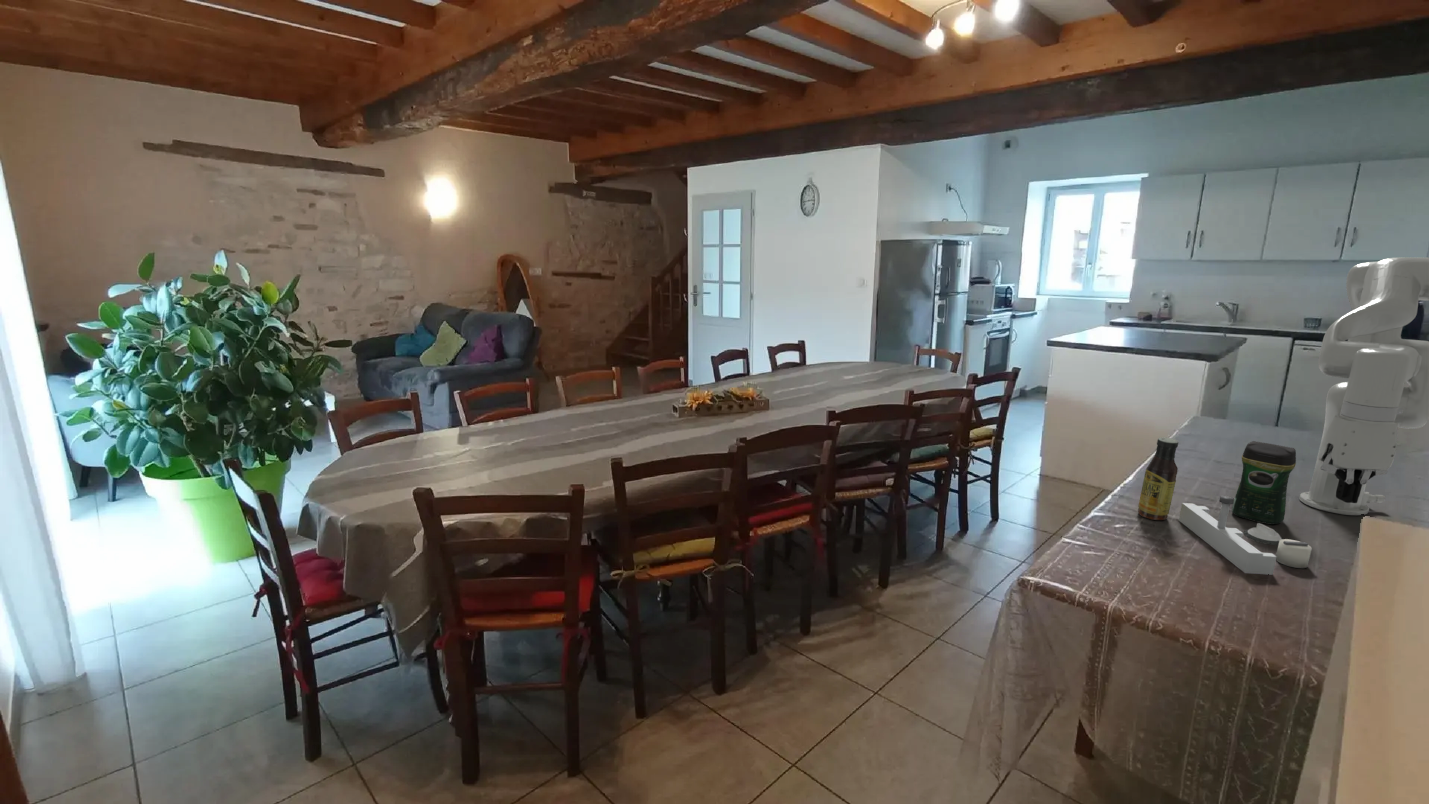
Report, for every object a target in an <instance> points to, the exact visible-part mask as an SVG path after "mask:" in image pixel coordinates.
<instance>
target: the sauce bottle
mask: <svg viewBox="0 0 1429 804" xmlns="http://www.w3.org/2000/svg"><path fill="white" fill-rule="evenodd" d="M1178 446H1179V441H1178V440H1177V439H1175V438H1171V437H1158V438H1157V441H1156V449H1155V453H1154V455H1153V457H1152V459H1151V461H1150V462H1149V464H1148V466H1147V467H1146V469H1145V471H1144V472H1145V473H1144V478H1143V482H1142V485H1141V491H1140V497H1139V502H1138V509H1137V512H1138V515H1140V516H1141V517H1143V518H1146V519H1148V520H1150V521H1165V520H1166V519H1168V517H1169V514H1170V509H1171V505H1172V501H1173V500H1172V499H1173V496H1174V495H1173V494H1174V490H1175V487H1176V482H1177V475H1178V471H1179V470H1178V466H1177V464H1176V462H1175V458H1176V455H1175V454H1176V450H1177V448H1178Z"/></svg>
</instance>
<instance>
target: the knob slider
mask: <svg viewBox="0 0 1429 804" xmlns="http://www.w3.org/2000/svg"><path fill="white" fill-rule="evenodd" d="M1312 550H1313V549H1312V546H1311V545H1309V543H1308V542H1305V541H1299V540H1294V539H1290V538H1289V539H1288V538H1285V539H1284V538H1283V539H1282V540H1280V541H1279V545H1277V550H1276V554H1275V556H1276V557H1277V558H1276V561H1277V563H1280V564H1282V565H1285V566H1287V567H1291V568H1296V569H1305V568H1308V566H1309V562H1310V558H1311V555H1312V554H1311V553H1312Z"/></svg>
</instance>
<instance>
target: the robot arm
mask: <svg viewBox="0 0 1429 804" xmlns="http://www.w3.org/2000/svg"><path fill="white" fill-rule="evenodd" d="M1345 285H1346V287H1345V288H1346V294H1347V299H1348V302H1349V305H1350V307H1351V311H1349V312H1347V313H1345V314H1343V315H1342V316H1340V317H1339V318H1338V319H1336V320H1335V321H1334V322H1333V323H1332V324H1330V325H1329V327H1328V328H1327V329H1326V331H1325V334H1324V336H1323V339H1322V342H1321V347H1320V351H1319V356H1318V368H1319V370H1320V372H1321V373H1322V374H1323V375H1325V376H1327V377H1332V378H1342V379H1348V380H1347V381H1344V382H1343V381H1342V382H1339V383H1336V384H1334V385H1332V386H1331V387H1329V389H1328V391H1327V393H1326V399H1325V415H1324V416H1325V417H1324V426H1323V430H1322V431H1323V432H1322V435H1321V436H1322V437H1321V440H1320V444H1319V448H1318V453H1317V457H1316V462H1315V466H1314V468H1313V469H1314V470H1313V474H1312V479H1311V481H1310V482H1311V483H1310V487H1309V491H1305V492H1304V491H1303V492H1301V493H1300V494H1299V500H1300V501H1301V503H1303V504H1305V505H1307V506H1308V507H1312V508H1314V509H1317V510H1320V511H1324V512H1329V513H1333V514H1339V515H1345V516H1362V515H1361V514H1364V515H1367V514H1368V513H1369V511H1370V507H1369V505H1367V504H1370V503H1378V504H1379V503H1380V504H1382V503H1385V502H1386V496H1385V495H1383V494H1371V492H1369V491H1365V490H1366V486H1367V483H1368V481H1369V480H1370V479H1372V478H1374V477H1375V476H1377V477H1378V476H1383V475H1387V474H1388V470H1389V469H1390V468H1391V467H1392V465H1393V462H1394V460H1395V456H1396V452H1397V445H1398V434H1399V428H1402V429H1409V430H1410V429H1413V430H1414V429H1415V430H1416V429H1420V428H1423V427H1424V426H1426V424H1427V423H1428V421H1429V341H1428V340H1422V339H1421V340H1418V339H1405V338H1402V336H1401V335H1402V331H1403V328H1404V327H1405V326H1407V325H1409V324H1410V323H1411V322H1412V321H1413V320H1414V319H1416V316H1417V314H1418V307H1419V301H1425V302H1429V257H1427V256H1426V257H1423V256H1420V257H1414V256H1412V257H1410V256H1409V257H1408V256H1407V257H1406V256H1405V257H1404V256H1403V257H1397V256H1396V257H1390V258H1384V259H1381V260H1379V261H1378V260H1377V261H1367V262H1362V263H1358V264H1356V265H1354V266H1352V267H1351V268H1350V269H1349V271H1348V272H1347V276H1346V283H1345ZM1405 383H1407V384H1408V386H1405Z"/></svg>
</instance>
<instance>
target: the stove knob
mask: <svg viewBox="0 0 1429 804" xmlns="http://www.w3.org/2000/svg"><path fill="white" fill-rule="evenodd" d="M1242 533H1244V534H1243V536H1245V537H1247V538H1248V539H1250V540H1252V541H1253V542H1254V541H1255V542H1257V543H1262V544H1266V545H1274V546H1275V545H1276V546H1278V545H1279V541H1280V540H1282V539H1284V537H1282V535H1280V534H1279V533H1278V532H1277V531H1275V529H1273V528H1271V527H1269V526H1267V525H1265V524H1264V523H1261V522H1257V524H1256V527H1251V528H1248V529H1245V530H1244V531H1243V532H1242Z"/></svg>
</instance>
